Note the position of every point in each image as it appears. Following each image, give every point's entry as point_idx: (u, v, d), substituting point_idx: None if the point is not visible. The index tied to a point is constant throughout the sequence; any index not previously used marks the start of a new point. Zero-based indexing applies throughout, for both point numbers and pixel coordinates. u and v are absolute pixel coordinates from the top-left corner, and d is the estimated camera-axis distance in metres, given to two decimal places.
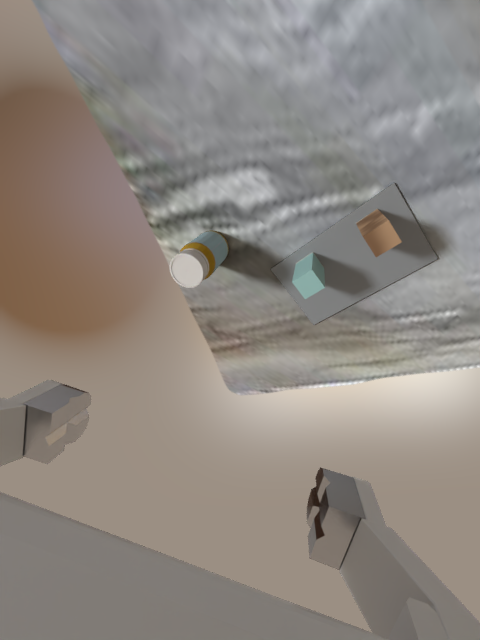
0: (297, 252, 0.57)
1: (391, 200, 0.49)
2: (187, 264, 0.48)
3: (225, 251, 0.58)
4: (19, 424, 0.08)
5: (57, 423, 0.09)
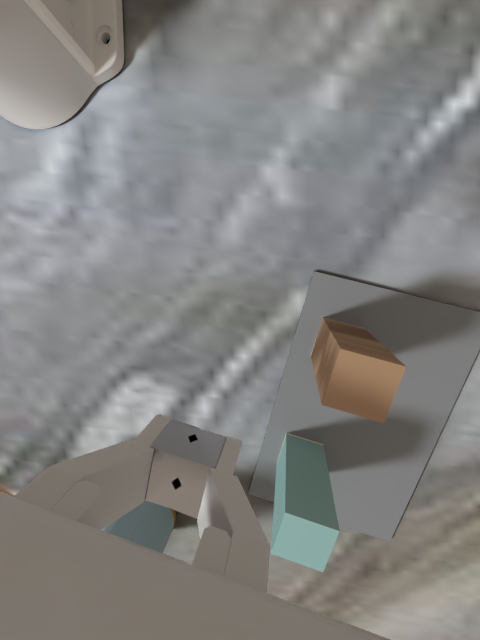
0: (265, 447, 0.31)
1: (332, 293, 0.27)
2: None
3: (160, 517, 0.32)
4: (147, 468, 0.08)
5: None
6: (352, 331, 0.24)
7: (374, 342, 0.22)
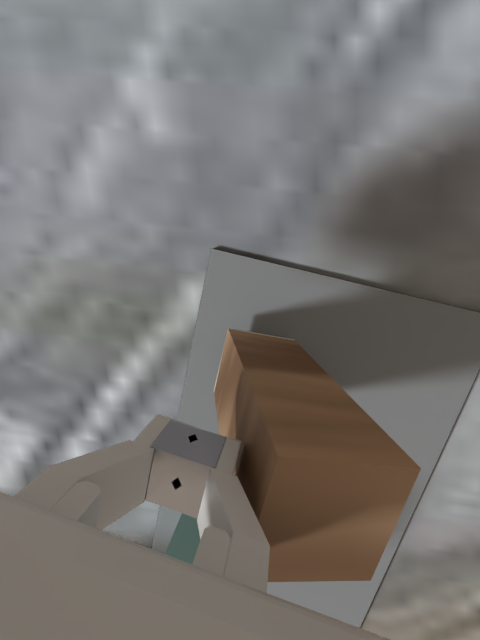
0: (162, 513, 0.21)
1: (241, 284, 0.17)
2: None
3: None
4: (147, 468, 0.08)
5: None
6: (280, 355, 0.14)
7: (323, 380, 0.12)
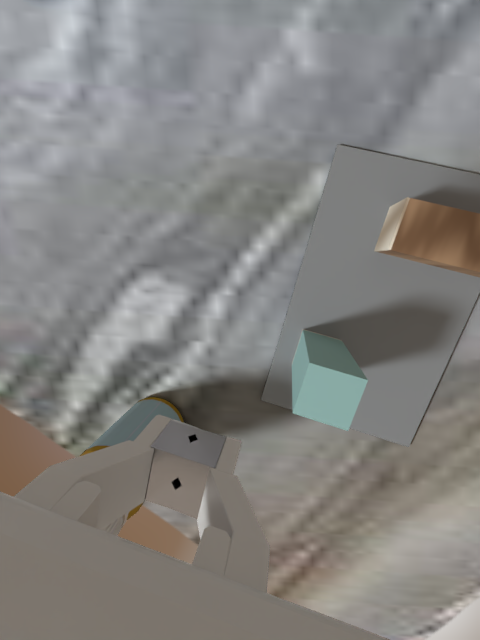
0: (280, 346, 0.30)
1: (356, 168, 0.26)
2: None
3: None
4: (147, 468, 0.08)
5: None
6: None
7: None
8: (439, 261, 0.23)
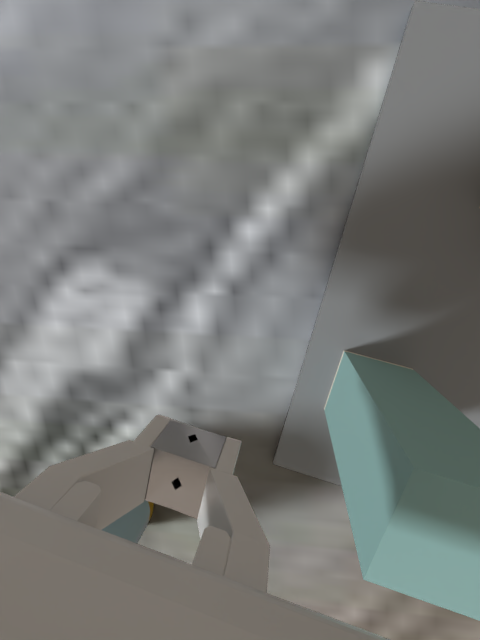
0: (304, 379, 0.18)
1: (451, 48, 0.13)
2: None
3: None
4: (147, 468, 0.08)
5: None
6: None
7: None
8: None
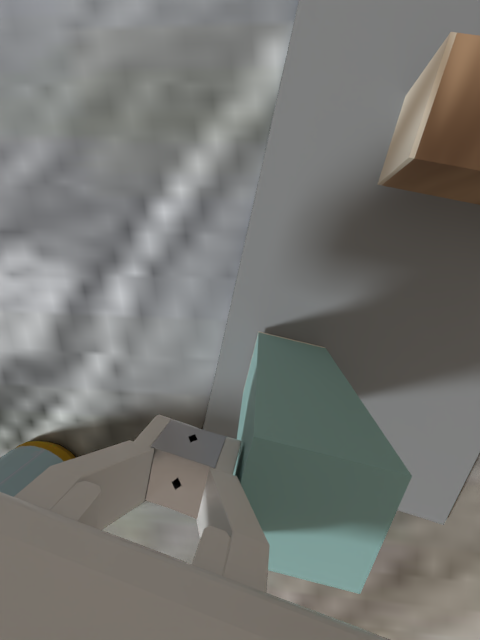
0: (223, 359, 0.18)
1: (340, 24, 0.14)
2: None
3: None
4: (147, 468, 0.08)
5: None
6: None
7: None
8: None
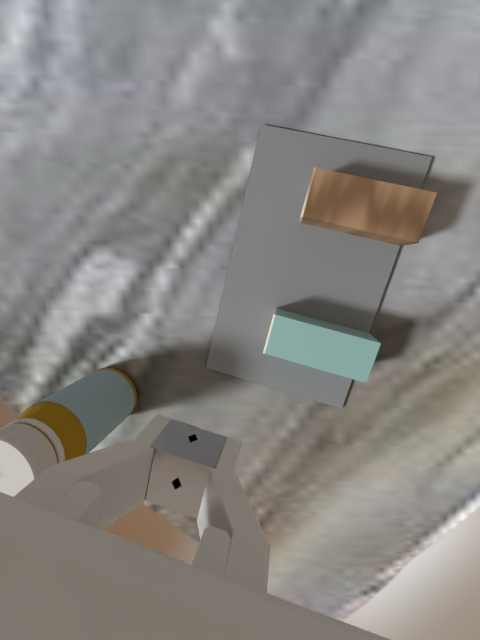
0: (220, 315, 0.32)
1: (279, 146, 0.28)
2: None
3: (118, 387, 0.33)
4: (147, 468, 0.08)
5: None
6: None
7: None
8: (346, 225, 0.25)
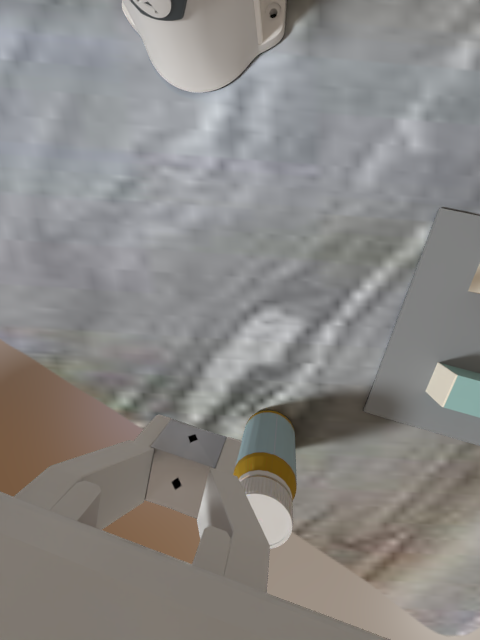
0: (383, 367, 0.36)
1: (455, 226, 0.32)
2: (254, 510, 0.27)
3: (289, 430, 0.37)
4: (147, 468, 0.08)
5: None
6: None
7: None
8: None
